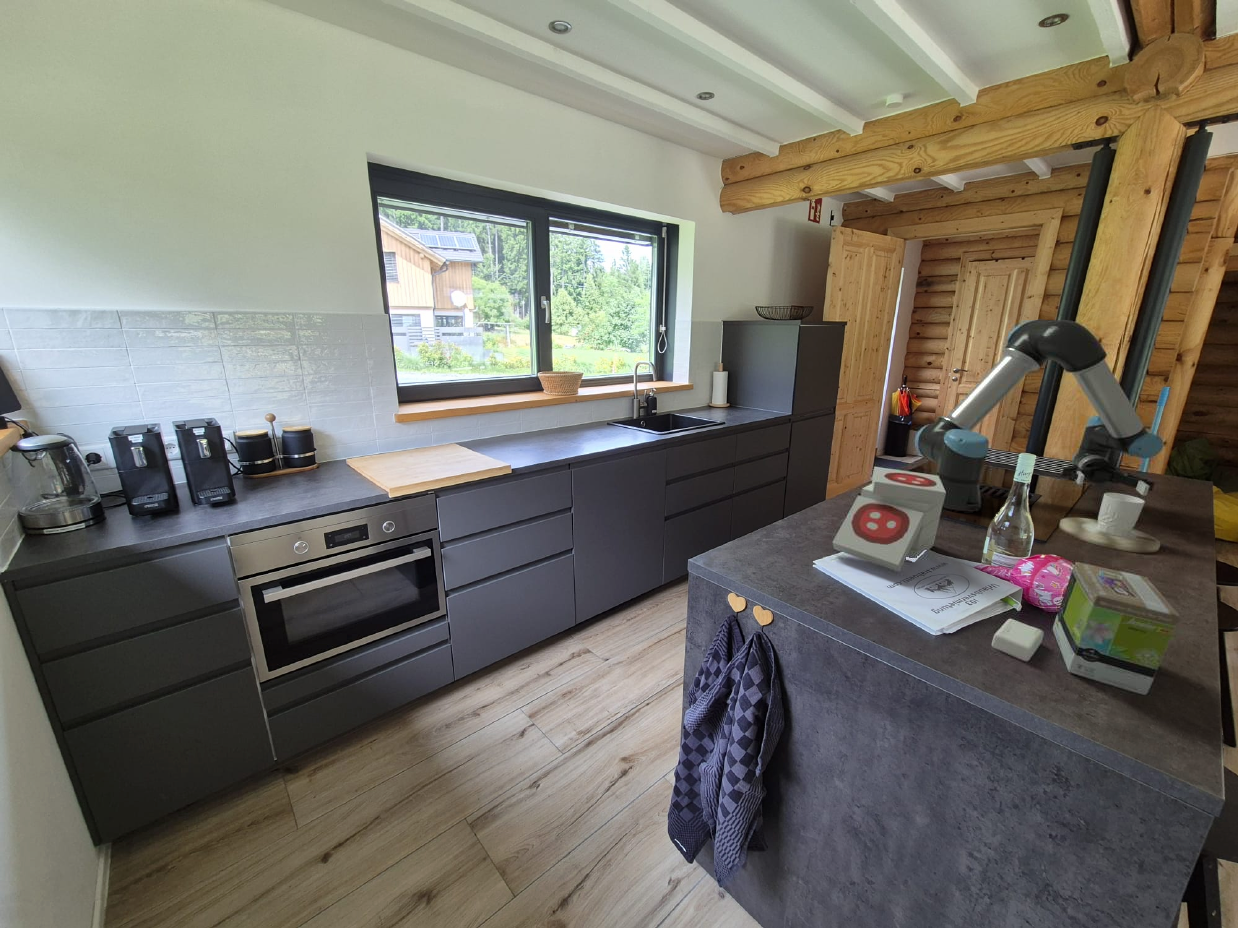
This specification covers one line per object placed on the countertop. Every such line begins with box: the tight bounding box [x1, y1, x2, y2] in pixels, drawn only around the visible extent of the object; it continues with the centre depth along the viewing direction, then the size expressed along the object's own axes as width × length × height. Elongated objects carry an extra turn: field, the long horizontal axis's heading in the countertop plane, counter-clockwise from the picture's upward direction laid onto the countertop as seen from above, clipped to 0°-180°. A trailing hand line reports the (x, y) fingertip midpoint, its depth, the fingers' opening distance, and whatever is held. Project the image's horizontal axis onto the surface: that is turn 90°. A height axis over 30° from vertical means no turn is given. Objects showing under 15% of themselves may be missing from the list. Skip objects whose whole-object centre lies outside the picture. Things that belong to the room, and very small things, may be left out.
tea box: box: [1052, 561, 1181, 696], centre depth 84 cm, size 15×10×15 cm
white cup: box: [1096, 492, 1146, 537], centre depth 135 cm, size 8×8×10 cm
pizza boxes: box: [832, 466, 946, 573], centre depth 123 cm, size 19×30×18 cm, turn 133°
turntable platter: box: [1058, 516, 1161, 554], centre depth 137 cm, size 20×20×2 cm
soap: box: [991, 618, 1045, 662], centre depth 89 cm, size 9×6×3 cm, turn 129°
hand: (1112, 485), depth 142 cm, fingers open, 13 cm apart
